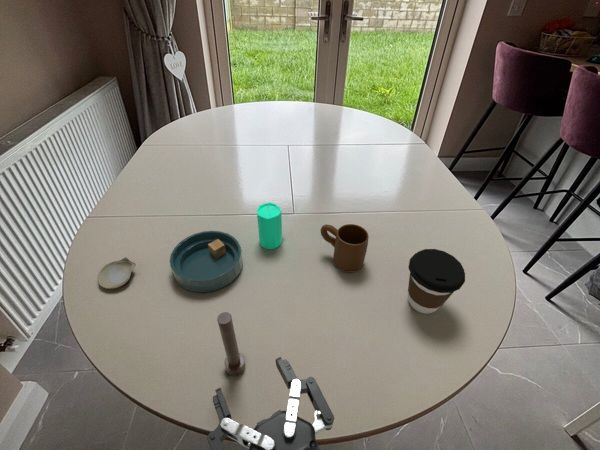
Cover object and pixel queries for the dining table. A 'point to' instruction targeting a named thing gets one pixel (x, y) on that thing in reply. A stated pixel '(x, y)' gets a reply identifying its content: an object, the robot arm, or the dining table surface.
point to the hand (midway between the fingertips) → (249, 375)
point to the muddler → (230, 345)
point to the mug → (347, 245)
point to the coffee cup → (433, 279)
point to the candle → (269, 225)
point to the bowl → (205, 262)
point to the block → (217, 248)
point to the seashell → (115, 273)
